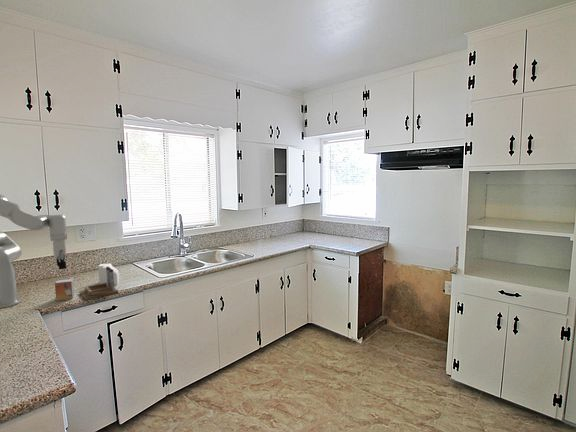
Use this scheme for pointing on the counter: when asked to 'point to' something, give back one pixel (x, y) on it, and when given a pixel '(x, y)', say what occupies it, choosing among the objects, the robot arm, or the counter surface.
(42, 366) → the counter surface
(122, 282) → the counter surface
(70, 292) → the small box
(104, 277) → the corner bracket
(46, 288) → the counter surface
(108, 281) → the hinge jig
